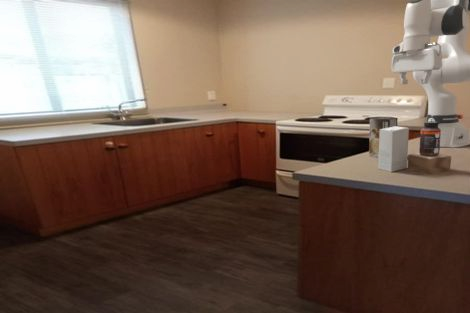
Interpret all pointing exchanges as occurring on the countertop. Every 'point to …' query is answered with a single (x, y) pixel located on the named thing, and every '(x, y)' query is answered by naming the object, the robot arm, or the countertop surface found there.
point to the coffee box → (378, 132)
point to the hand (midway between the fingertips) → (414, 84)
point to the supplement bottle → (430, 139)
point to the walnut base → (429, 163)
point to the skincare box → (393, 148)
